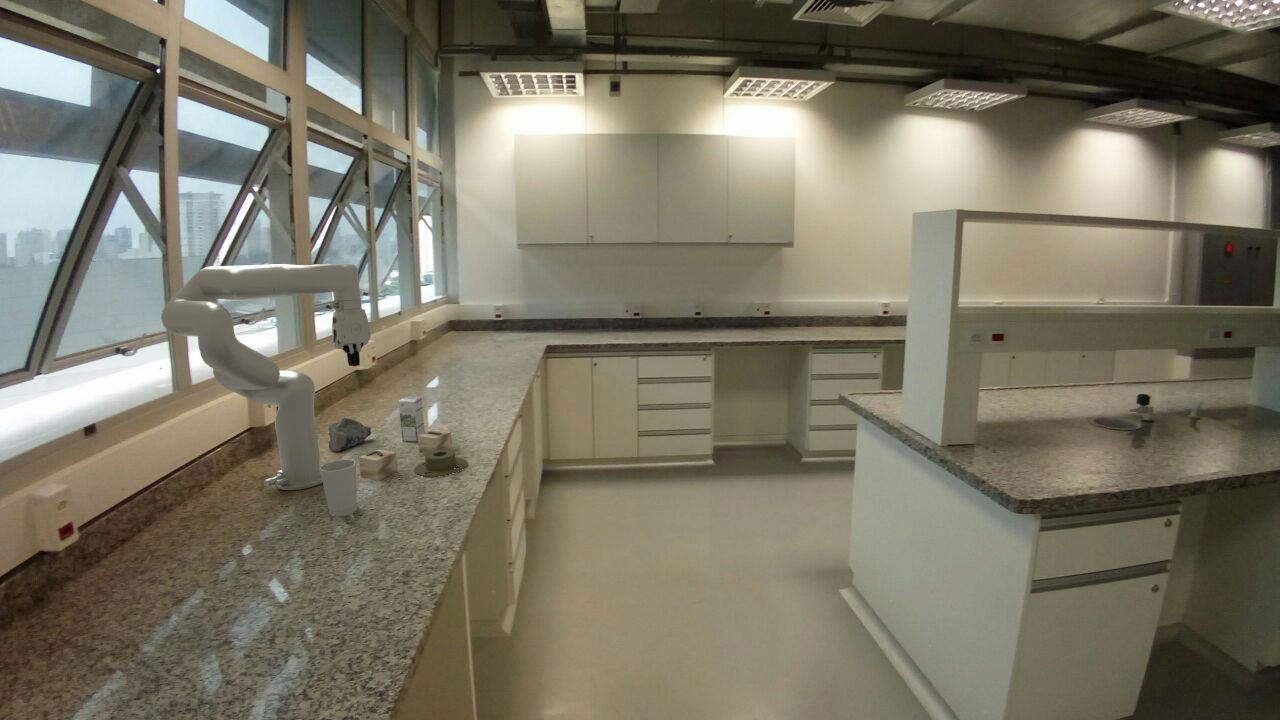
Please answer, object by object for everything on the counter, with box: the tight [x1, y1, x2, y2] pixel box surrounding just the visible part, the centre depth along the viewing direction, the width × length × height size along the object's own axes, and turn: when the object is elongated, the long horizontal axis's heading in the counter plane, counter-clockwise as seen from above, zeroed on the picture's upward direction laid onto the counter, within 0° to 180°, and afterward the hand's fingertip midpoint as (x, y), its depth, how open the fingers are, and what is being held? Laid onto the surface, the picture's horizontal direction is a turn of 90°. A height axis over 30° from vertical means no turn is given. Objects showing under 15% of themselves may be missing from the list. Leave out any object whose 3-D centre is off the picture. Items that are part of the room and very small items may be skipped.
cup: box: [320, 458, 358, 517], centre depth 145 cm, size 8×8×12 cm
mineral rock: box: [328, 417, 372, 452], centre depth 194 cm, size 13×11×10 cm
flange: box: [413, 449, 468, 478], centre depth 174 cm, size 5×15×15 cm
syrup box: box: [398, 396, 426, 443], centre depth 199 cm, size 6×6×14 cm
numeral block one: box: [418, 429, 453, 455], centre depth 187 cm, size 7×7×6 cm
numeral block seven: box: [358, 448, 399, 481], centre depth 169 cm, size 7×7×6 cm
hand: (354, 365), depth 180 cm, fingers closed
